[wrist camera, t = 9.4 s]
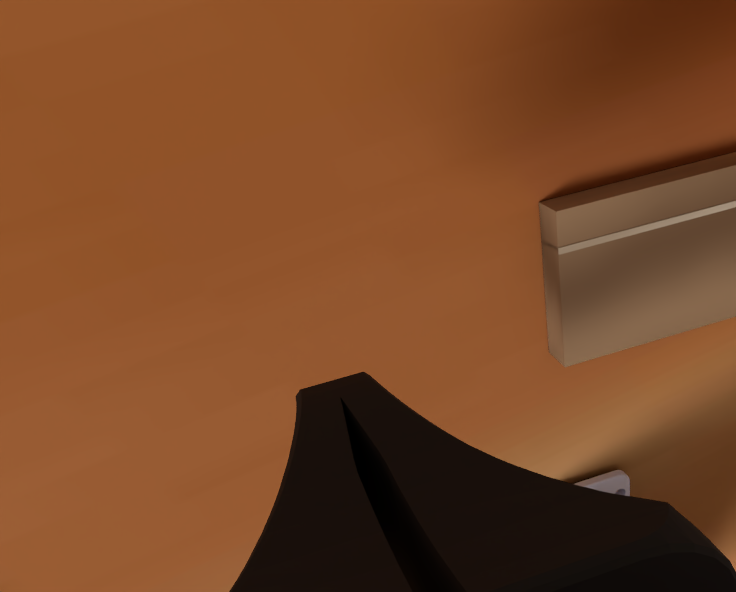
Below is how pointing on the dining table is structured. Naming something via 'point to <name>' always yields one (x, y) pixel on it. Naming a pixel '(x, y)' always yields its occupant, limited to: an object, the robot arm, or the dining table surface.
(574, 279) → the board
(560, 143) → the dining table surface
